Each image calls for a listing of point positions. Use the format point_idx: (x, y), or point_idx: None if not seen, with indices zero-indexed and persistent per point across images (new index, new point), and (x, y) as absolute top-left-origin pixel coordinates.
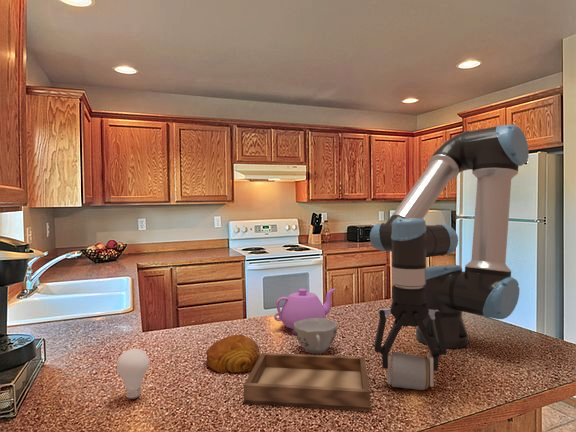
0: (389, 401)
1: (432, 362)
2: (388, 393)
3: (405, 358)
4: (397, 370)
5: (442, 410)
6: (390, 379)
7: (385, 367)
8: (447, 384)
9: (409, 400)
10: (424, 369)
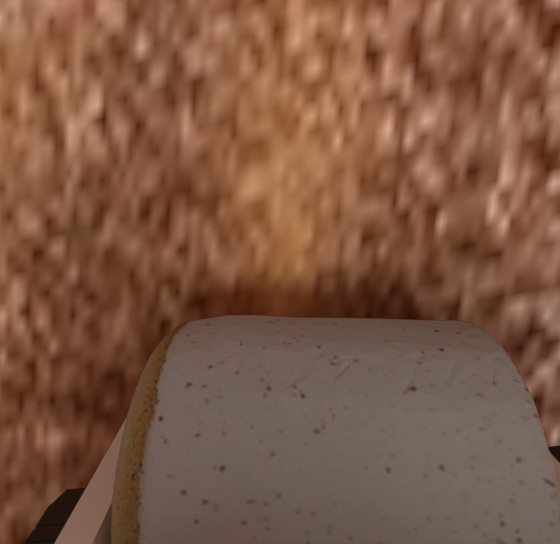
0: (470, 150)
1: (65, 538)
2: (461, 270)
3: (391, 534)
4: (463, 366)
5: (102, 96)
6: None
7: (552, 454)
8: (61, 470)
9: (324, 197)
10: (170, 404)
